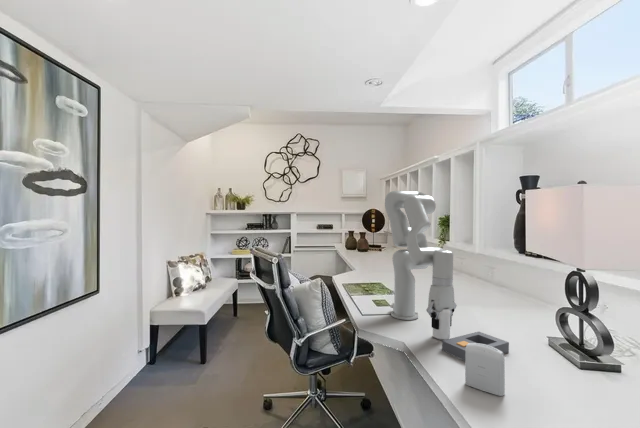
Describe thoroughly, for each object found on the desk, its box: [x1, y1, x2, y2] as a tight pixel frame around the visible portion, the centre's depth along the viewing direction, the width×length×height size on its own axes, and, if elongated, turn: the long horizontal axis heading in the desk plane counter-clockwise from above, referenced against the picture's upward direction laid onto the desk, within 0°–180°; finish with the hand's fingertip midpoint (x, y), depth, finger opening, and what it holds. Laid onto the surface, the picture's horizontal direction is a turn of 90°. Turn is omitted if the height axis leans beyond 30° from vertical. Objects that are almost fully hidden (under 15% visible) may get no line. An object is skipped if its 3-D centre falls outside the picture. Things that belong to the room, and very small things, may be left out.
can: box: [432, 308, 451, 341], centre depth 132 cm, size 6×6×12 cm
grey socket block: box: [441, 331, 510, 362], centre depth 120 cm, size 12×20×4 cm, turn 118°
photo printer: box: [464, 343, 506, 397], centre depth 95 cm, size 10×4×12 cm, turn 47°
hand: (441, 326), depth 132 cm, fingers closed on can, 6 cm apart
